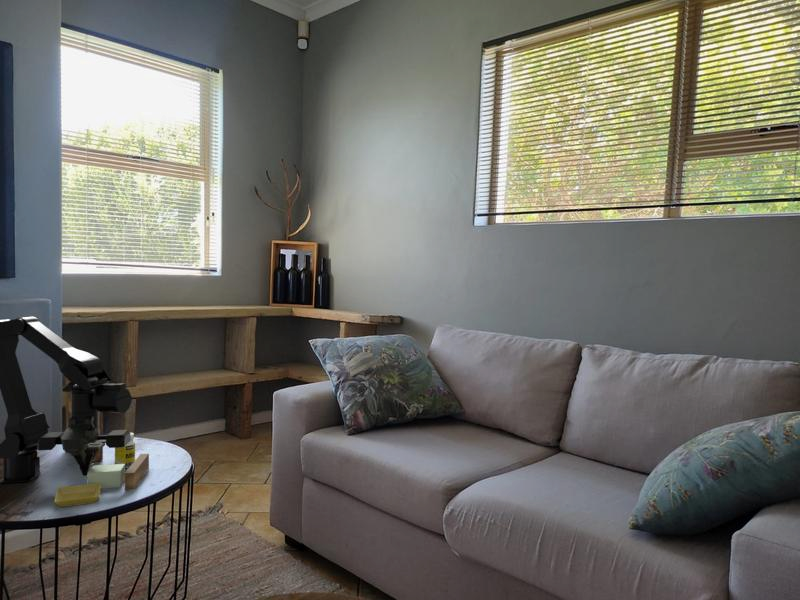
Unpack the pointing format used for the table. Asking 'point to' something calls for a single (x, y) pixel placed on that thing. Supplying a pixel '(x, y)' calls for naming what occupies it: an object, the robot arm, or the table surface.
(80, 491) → the yellow tray
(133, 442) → the supplement bottle
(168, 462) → the table surface
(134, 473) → the board
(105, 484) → the block
